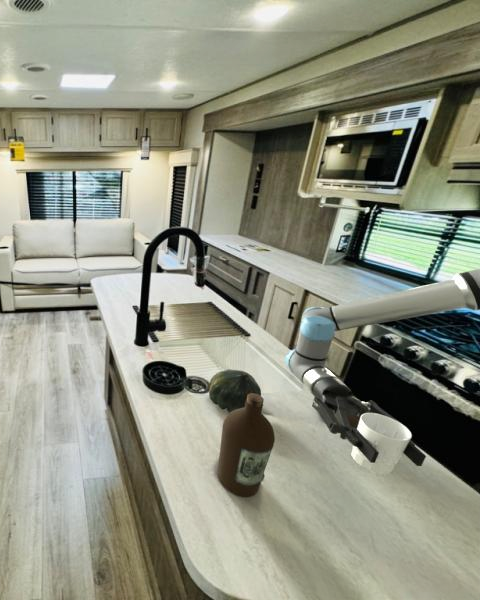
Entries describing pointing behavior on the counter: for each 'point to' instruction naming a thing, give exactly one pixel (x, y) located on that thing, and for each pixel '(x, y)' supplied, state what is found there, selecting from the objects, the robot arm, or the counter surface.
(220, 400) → the squash
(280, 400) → the counter surface
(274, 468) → the counter surface
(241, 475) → the olive oil
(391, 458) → the white cup
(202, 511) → the counter surface
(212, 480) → the counter surface
